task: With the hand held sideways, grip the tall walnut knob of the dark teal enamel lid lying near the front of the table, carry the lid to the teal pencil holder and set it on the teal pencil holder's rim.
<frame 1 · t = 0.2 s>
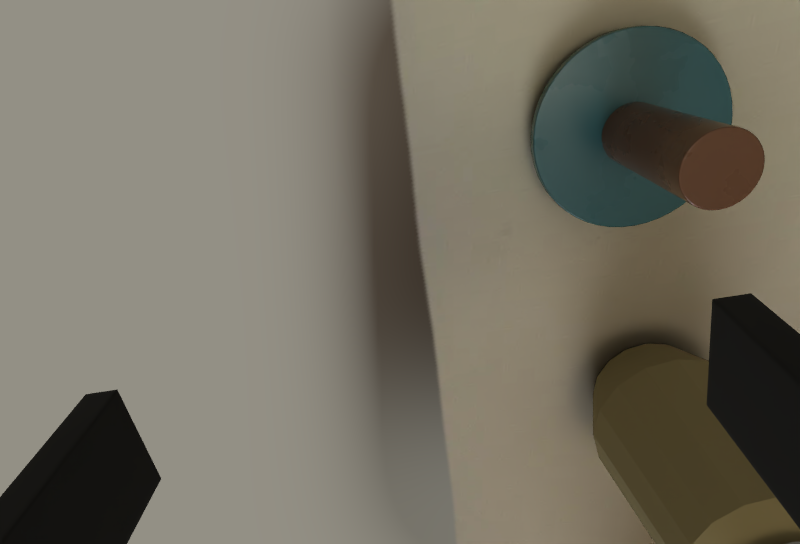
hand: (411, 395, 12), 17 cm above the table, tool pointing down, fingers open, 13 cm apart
squeeze bottle: (641, 383, 32), on the table
lid: (627, 131, 26), point 1 cm above the table
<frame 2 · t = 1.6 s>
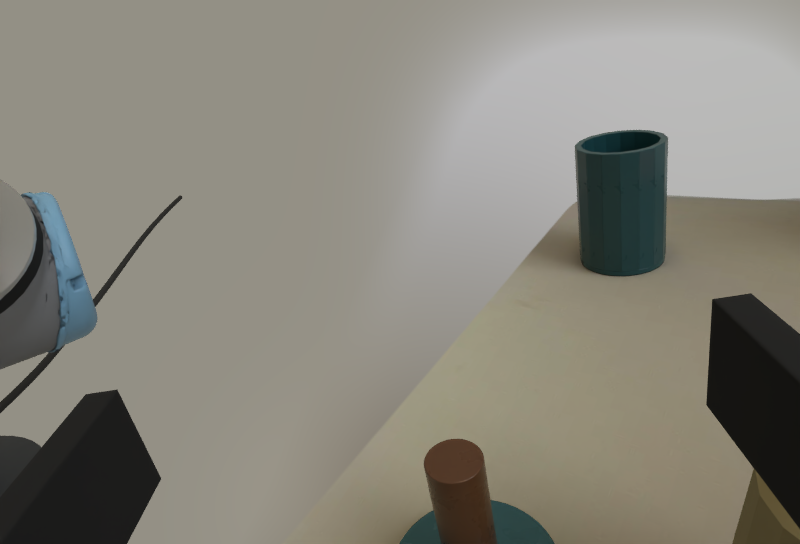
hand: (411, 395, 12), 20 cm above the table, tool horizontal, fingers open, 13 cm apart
teal pencil holder: (621, 258, 59), on the table
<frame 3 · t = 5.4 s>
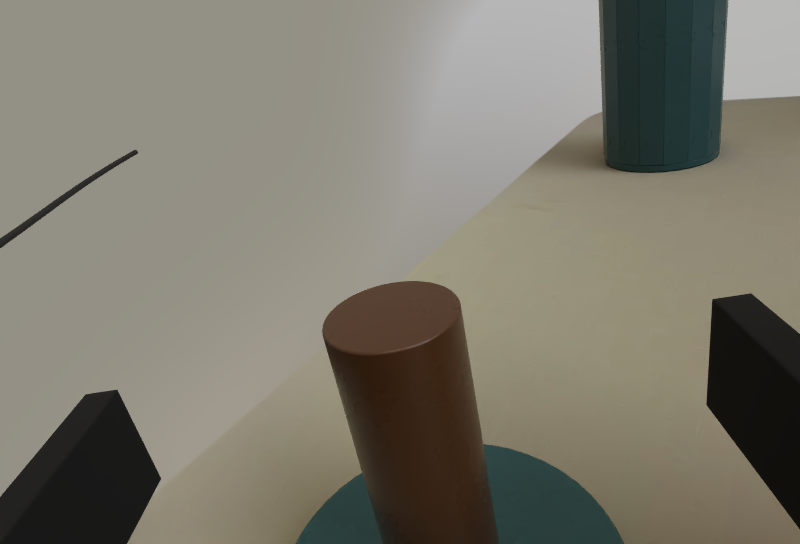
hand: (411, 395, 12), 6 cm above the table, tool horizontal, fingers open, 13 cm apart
teal pencil holder: (659, 155, 44), on the table
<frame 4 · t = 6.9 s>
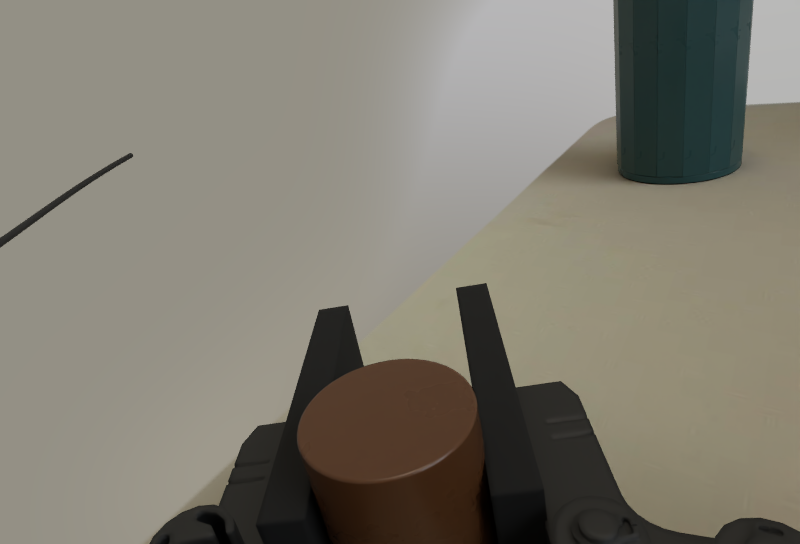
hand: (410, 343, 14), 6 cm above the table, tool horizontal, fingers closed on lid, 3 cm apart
teal pencil holder: (677, 165, 42), on the table
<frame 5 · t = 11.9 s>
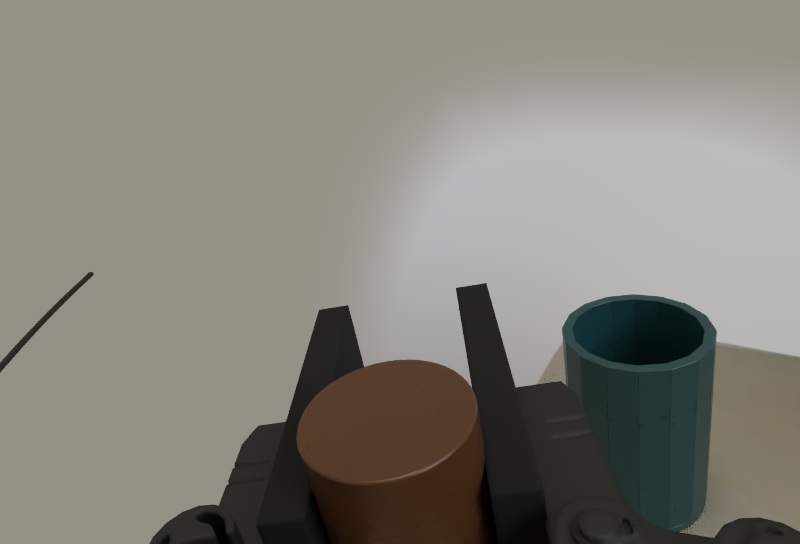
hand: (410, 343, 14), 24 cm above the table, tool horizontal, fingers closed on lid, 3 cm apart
teal pencil holder: (637, 484, 38), on the table
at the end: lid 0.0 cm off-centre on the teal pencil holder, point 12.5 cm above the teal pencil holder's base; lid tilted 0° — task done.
